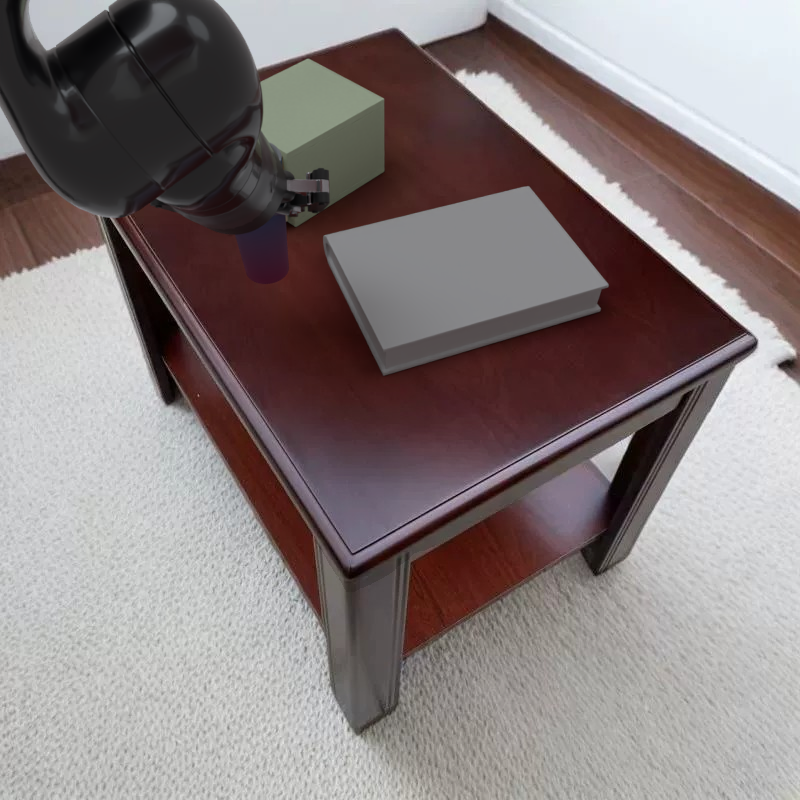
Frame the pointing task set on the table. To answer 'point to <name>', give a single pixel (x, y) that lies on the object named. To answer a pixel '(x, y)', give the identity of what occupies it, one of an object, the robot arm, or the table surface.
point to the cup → (266, 248)
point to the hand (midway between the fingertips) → (259, 205)
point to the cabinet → (324, 127)
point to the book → (461, 277)
